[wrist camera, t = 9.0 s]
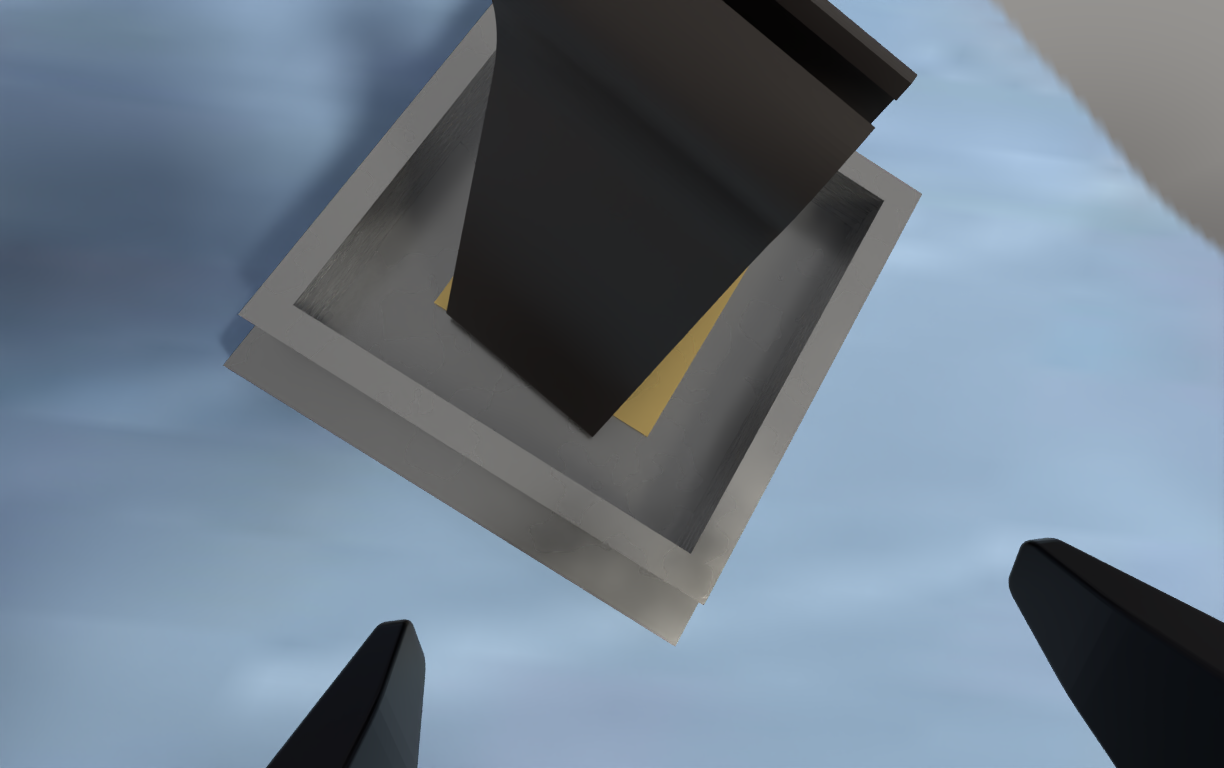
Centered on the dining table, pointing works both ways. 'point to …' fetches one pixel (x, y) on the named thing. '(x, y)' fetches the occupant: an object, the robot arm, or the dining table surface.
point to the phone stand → (647, 173)
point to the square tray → (520, 415)
